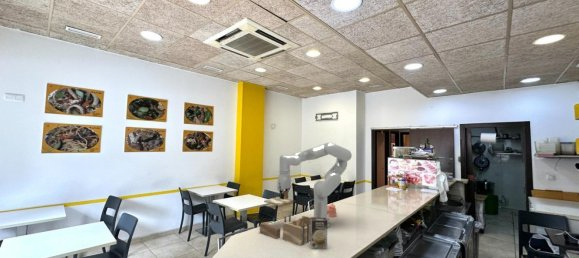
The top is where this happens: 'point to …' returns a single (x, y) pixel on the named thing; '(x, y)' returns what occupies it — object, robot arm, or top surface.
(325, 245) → the coffee box
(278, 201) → the lid
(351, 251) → the top surface
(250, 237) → the top surface
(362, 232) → the top surface
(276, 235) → the plank
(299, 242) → the open wooden box
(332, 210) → the pink lumpy piece
